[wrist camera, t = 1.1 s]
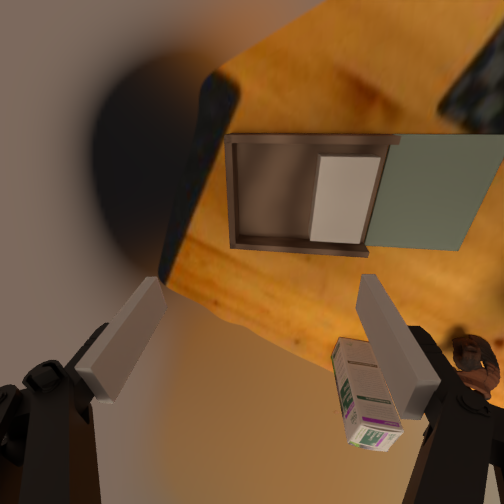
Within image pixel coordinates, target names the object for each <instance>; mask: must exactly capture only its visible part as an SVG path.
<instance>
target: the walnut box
mask: <svg viewBox="0 0 504 504" xmlns="http://www.w3.org/2000/svg"><path fill="white" fill-rule="evenodd" d="M400 140H401V136H397V135H391V134H312V133H230V134H226V135H224V144H225V163H226V181H227V200H228V219H229V238H230V249H244V250H259V251H274V252H289V253H304V254H319V255H334V256H349V257H364V258H368V255H369V251H368V249H367V248H366V246H365V244H364V243H363V242H364V238H365V234H366V230H367V226H368V222H369V218H370V215H371V211H372V207H373V203H374V199H375V195H376V191H377V187H378V183H379V180H380V176H381V172H382V168H383V164H384V160H385V156H386V152H387V148H388V145H399V143H400ZM318 153H341V154H373V155H376V156H378V157H380V158H381V159H380V163H379V167H378V171H377V175H376V179H375V183H374V187H373V191H372V195H371V199H370V203H369V207H368V211H367V215H366V219H365V223H364V227H363V231H362V235H361V239H360V243H359V244H354V243H337V242H320V241H310V238H309V232H308V230H309V222H310V214H311V206H312V199H313V191H314V183H315V175H316V167H317V159H318Z"/></svg>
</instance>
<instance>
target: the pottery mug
mask: <svg viewBox="0 0 504 504" xmlns="http://www.w3.org/2000/svg"><path fill="white" fill-rule="evenodd" d="M469 338H470V339H466V338H463V337H459V338H455V339H453V340H452V342H453V343H452V344H453V348H454V351H453V360H454V362H455V364H456V366H457V367H458V368H459V369H461V370H462V371H457V370H456V369H455V368H454V367H453V368H454V370H455V371H456V373H457V374H458V375H459V377H460V378H461V380H462V381H463V383H464V384H465V385H466V387H467V388H468V389H471V388H473V389H476V390H473V391H475V392H476V393H478V394H479V395H481V396H482V397H483V398H484V399H485V400H489V399H490V398H491V394H490V391H491V390H493V389H494V388H495V387H496V386H497V384H498V383H499V382H500V380H499V379H500V369H499V364H498V363H497V359H496V356H495V355H494V353H493V351H492V349H491V347H490V345H489V344H488V342H486V341H485V340H484V339H482V338H479V337H477V336H474V335H469ZM480 361H483V364H484V367H485V368H484V367H482V365H481V363H480ZM470 387H471V388H470ZM471 390H472V389H471Z"/></svg>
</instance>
